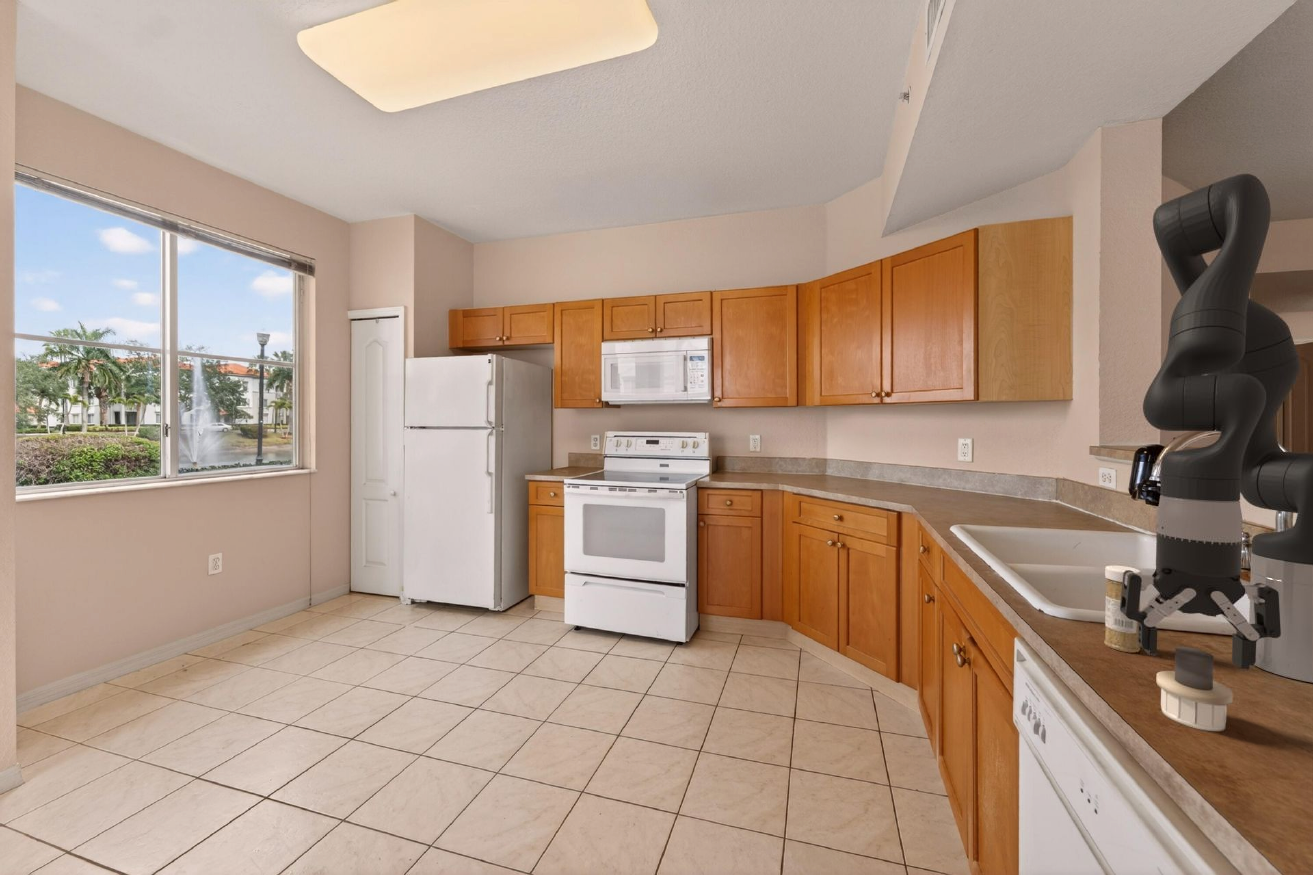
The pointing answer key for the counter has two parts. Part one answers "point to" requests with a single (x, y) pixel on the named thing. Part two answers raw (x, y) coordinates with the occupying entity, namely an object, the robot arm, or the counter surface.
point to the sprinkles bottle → (1119, 613)
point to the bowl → (1193, 712)
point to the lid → (1194, 678)
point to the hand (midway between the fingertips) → (1194, 659)
